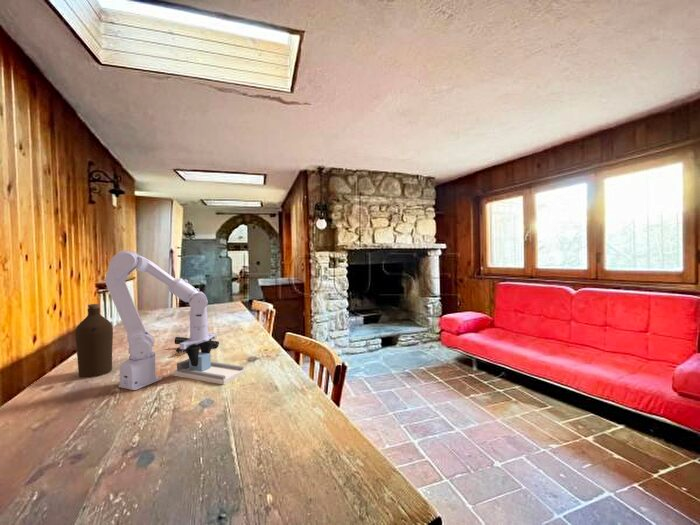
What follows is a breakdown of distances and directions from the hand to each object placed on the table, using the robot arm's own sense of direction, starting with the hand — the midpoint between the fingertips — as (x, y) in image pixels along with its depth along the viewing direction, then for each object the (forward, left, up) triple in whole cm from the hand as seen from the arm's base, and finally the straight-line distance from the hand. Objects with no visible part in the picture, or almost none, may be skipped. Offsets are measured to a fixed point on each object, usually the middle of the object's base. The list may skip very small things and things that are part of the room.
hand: (199, 363), depth 112 cm
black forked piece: (+18, +25, -4) cm, 31 cm away
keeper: (0, 0, -2) cm, 2 cm away
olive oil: (-13, +36, -4) cm, 39 cm away
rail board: (0, -4, -3) cm, 5 cm away
